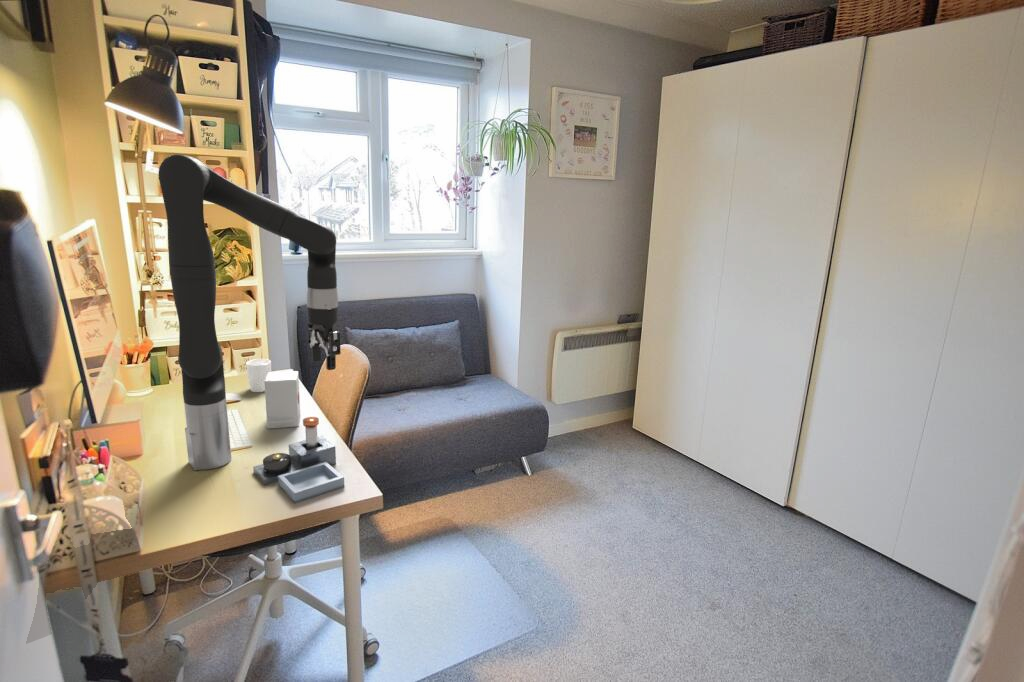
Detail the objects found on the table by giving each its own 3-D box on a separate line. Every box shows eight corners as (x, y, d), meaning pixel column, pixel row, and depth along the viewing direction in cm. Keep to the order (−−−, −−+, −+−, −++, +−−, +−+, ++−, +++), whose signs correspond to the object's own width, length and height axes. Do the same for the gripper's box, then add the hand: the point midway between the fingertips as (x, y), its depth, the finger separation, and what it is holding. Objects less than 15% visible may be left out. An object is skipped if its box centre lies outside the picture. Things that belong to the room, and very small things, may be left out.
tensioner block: (265, 485, 132) (263, 466, 131) (253, 472, 138) (252, 454, 136) (336, 463, 144) (335, 446, 143) (322, 452, 150) (322, 435, 148)
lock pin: (308, 467, 141) (306, 423, 138) (302, 462, 144) (300, 419, 141) (322, 463, 144) (321, 420, 141) (316, 458, 146) (314, 415, 143)
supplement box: (299, 427, 165) (296, 379, 161) (266, 429, 162) (263, 381, 158) (301, 415, 173) (299, 370, 169) (270, 417, 170) (267, 371, 167)
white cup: (268, 383, 199) (266, 357, 196) (276, 390, 193) (274, 363, 191) (244, 388, 194) (242, 361, 191) (252, 394, 188) (250, 366, 186)
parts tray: (295, 503, 125) (294, 493, 125) (278, 485, 132) (278, 475, 132) (344, 486, 133) (344, 477, 132) (326, 470, 140) (326, 461, 140)
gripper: (296, 300, 143) (298, 360, 147) (321, 311, 133) (322, 374, 137) (323, 298, 148) (324, 356, 152) (349, 308, 138) (349, 370, 142)
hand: (323, 365), depth 144 cm, fingers open, 8 cm apart
